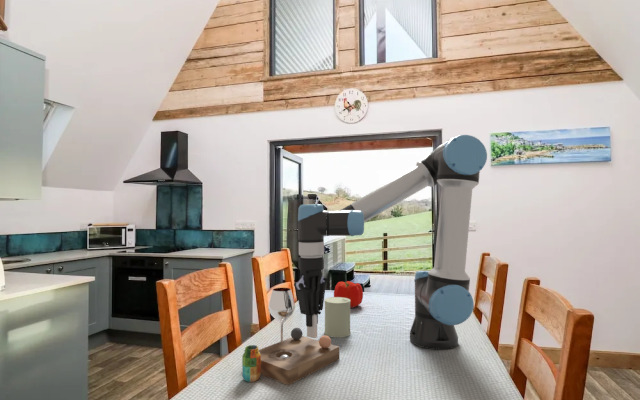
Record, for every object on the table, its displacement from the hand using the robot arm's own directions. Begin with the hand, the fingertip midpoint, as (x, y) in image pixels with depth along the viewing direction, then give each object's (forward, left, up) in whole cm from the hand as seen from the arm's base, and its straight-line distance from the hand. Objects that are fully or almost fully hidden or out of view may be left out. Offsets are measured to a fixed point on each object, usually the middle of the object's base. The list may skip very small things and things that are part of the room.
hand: (312, 336), depth 111 cm
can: (+7, -21, -6) cm, 23 cm away
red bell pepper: (+25, -55, -6) cm, 61 cm away
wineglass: (+12, +1, -6) cm, 13 cm away
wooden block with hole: (0, +7, -6) cm, 9 cm away
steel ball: (0, +11, -4) cm, 12 cm away
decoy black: (+6, 0, 0) cm, 6 cm away
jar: (+2, +21, -6) cm, 22 cm away
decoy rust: (-5, 0, 0) cm, 5 cm away
